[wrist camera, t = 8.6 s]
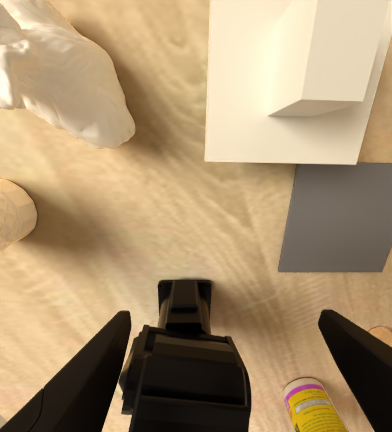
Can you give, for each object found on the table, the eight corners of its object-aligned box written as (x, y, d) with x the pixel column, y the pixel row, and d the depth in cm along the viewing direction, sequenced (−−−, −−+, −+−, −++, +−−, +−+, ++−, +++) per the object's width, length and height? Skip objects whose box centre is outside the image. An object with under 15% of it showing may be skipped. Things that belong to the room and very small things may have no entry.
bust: (50, 37, 17) (-162, 26, 10) (67, -68, 12) (-357, -259, 5) (134, 152, 21) (22, 208, 13) (176, 108, 15) (29, 161, 8)
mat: (378, 270, 24) (381, 272, 24) (277, 270, 24) (279, 272, 23) (418, 164, 20) (422, 164, 20) (297, 161, 19) (299, 161, 19)
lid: (345, 164, 15) (419, 168, 10) (204, 160, 14) (212, 164, 10) (394, -27, 11) (541, -156, 7) (211, -38, 11) (228, -186, 6)
